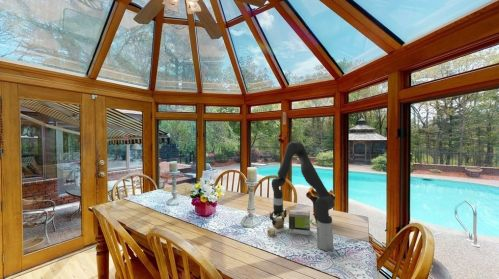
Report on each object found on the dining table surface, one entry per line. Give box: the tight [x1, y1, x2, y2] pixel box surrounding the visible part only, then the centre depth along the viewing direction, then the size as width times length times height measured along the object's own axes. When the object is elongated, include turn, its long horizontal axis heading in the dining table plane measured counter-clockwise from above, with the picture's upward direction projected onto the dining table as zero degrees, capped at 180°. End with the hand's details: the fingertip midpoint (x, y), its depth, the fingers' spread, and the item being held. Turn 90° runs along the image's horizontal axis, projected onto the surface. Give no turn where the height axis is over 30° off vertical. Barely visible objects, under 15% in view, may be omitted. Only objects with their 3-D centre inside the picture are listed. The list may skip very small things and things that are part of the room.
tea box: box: [288, 209, 311, 236], centre depth 170 cm, size 15×10×15 cm
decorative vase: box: [305, 186, 336, 227], centre depth 187 cm, size 21×23×28 cm
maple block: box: [266, 228, 276, 237], centre depth 166 cm, size 4×4×4 cm
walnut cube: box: [272, 217, 285, 229], centre depth 177 cm, size 6×6×6 cm
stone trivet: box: [267, 224, 289, 234], centre depth 177 cm, size 12×12×1 cm
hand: (278, 223), depth 177 cm, fingers open, 8 cm apart
